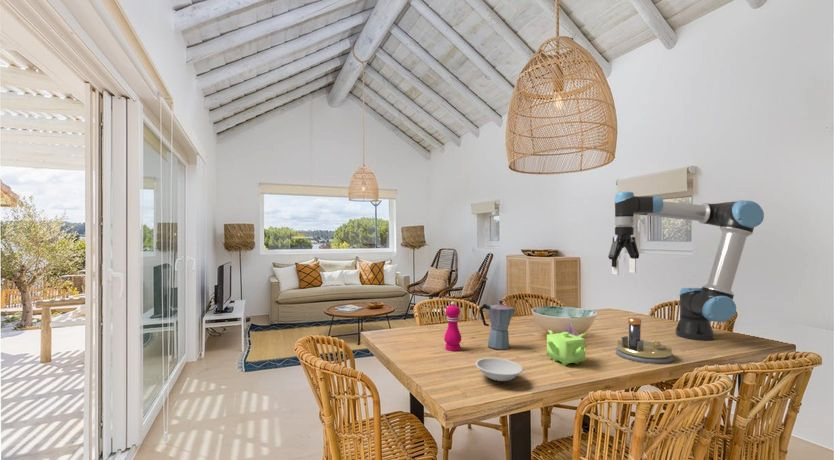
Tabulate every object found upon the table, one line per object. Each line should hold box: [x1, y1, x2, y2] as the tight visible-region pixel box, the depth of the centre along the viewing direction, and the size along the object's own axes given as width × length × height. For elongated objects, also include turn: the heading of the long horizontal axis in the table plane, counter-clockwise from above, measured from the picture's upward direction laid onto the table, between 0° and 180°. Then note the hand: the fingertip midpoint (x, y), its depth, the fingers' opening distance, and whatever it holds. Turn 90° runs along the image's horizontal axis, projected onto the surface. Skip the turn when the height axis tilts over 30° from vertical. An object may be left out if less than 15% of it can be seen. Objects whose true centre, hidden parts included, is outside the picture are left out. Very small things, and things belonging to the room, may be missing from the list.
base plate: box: [615, 347, 674, 365], centre depth 164 cm, size 20×20×2 cm
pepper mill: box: [443, 301, 462, 352], centre depth 173 cm, size 7×7×20 cm
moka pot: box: [479, 300, 517, 351], centre depth 175 cm, size 10×15×20 cm, turn 79°
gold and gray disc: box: [616, 335, 673, 359], centre depth 164 cm, size 19×19×6 cm
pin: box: [627, 317, 642, 351], centre depth 160 cm, size 4×4×12 cm
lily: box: [561, 321, 580, 337], centre depth 177 cm, size 12×12×10 cm
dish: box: [475, 357, 524, 382], centre depth 137 cm, size 18×14×5 cm
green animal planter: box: [546, 329, 587, 366], centre depth 156 cm, size 15×14×11 cm
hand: (624, 273), depth 184 cm, fingers open, 13 cm apart
